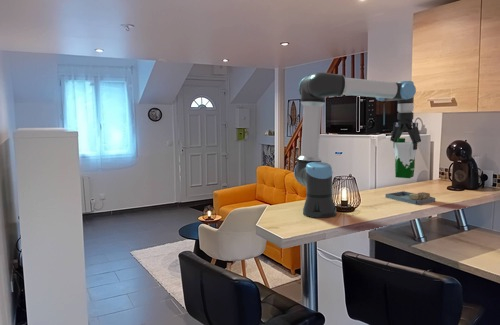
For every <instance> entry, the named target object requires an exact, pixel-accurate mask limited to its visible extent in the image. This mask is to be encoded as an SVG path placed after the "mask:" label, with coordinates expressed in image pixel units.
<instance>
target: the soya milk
mask: <svg viewBox="0 0 500 325" xmlns="http://www.w3.org/2000/svg"><path fill="white" fill-rule="evenodd" d="M411 143H412V141H406V138H405V137H400V138H397V142H396V143H395V155H394V156H395V158H394V160H395V163H394V168H395V169H394V172H395V178H399V179H400V178H401V179H411V178H413V177H414V174H415V173H414V172H415V168H416V166H415V165H416V164H415V162H416V161H415V160H416V159H415V158H416V156H411Z"/></svg>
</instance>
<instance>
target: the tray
mask: <svg viewBox="0 0 500 325" xmlns="http://www.w3.org/2000/svg"><path fill="white" fill-rule="evenodd" d="M412 193H413V192H409V191H405V190H402V191H397V192H396V191H395V192H390V193H385V198H386V199H390V200H395V201H398V202H403V203H408V204H411V205H414V206H417V205H423V204H428V203H434V202H436V197H435V196H430V198H429V199H423V200H417V201H416V200H411V199H409V194H412Z"/></svg>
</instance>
